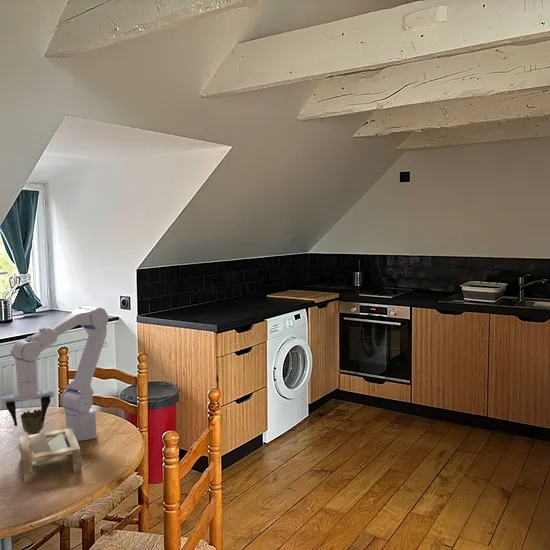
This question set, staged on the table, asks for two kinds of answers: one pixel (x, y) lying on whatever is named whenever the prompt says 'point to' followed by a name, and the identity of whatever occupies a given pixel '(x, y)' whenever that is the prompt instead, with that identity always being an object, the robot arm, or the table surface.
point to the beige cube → (39, 444)
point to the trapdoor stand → (29, 456)
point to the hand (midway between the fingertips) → (29, 423)
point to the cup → (32, 422)
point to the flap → (55, 446)
